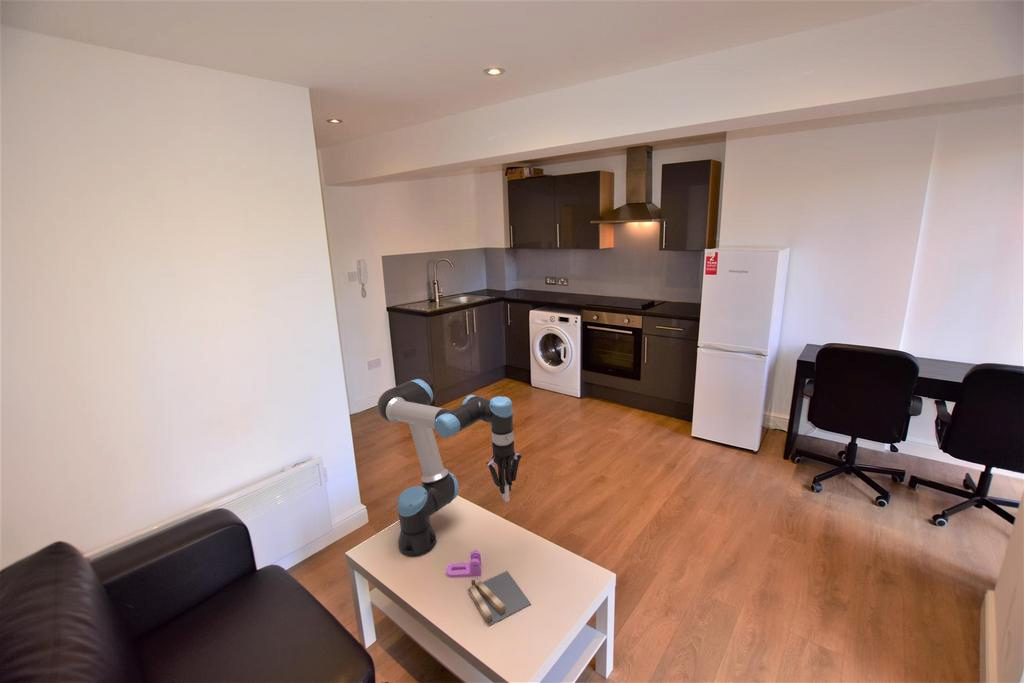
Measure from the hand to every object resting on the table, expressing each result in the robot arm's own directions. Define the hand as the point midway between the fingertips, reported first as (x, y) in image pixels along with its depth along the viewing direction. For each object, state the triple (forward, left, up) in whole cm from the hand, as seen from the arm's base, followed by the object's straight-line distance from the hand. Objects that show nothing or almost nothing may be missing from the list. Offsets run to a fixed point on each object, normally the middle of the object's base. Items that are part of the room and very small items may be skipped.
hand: (505, 499), depth 164 cm
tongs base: (+10, -17, -29) cm, 35 cm away
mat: (+10, -10, -29) cm, 33 cm away
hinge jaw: (+11, -13, -29) cm, 33 cm away
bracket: (-7, -16, -30) cm, 34 cm away
